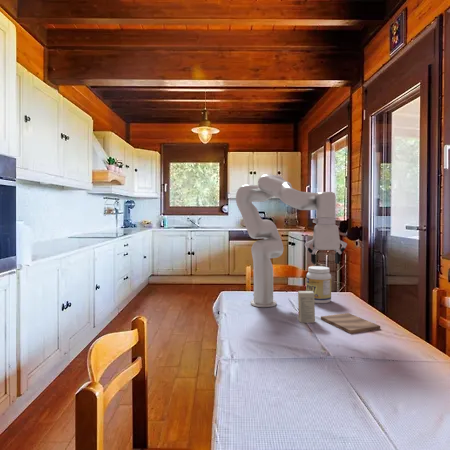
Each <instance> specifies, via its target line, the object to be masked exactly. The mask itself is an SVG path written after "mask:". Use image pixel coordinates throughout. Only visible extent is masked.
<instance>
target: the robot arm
mask: <svg viewBox="0 0 450 450" xmlns="http://www.w3.org/2000/svg"><path fill="white" fill-rule="evenodd" d="M274 197H275V198H278V199H280V201H281V202H282V203H284V204H285V205H287V206H290V207H291V208H294V209H296V210H300V211H316V212H315V213H316V216H315V218H314V219H313V220H312V223H315V224H316V225H314V227H313V233H312V239H311V240H308V241H306V242H305V243H304V246H305V248H306V250H307V252H308V253H310V262H311V263H312V264H313V265H316V263H317V255H316V253H317V251H334V252H335V254H334V263H335V264H336V265H340V263H341V254H342V253H343V252H344V251H345V250H346V248H347V246H348V243H347V242H345V241H343V240H341V239H340V232H339V231H340V230H339V226H338V225H336V211H337V210H336V207H337V206H336V203H337V202H336V201H337V200H336V198H337V197H336V193H335V192H333V191H320V192H311V191H310V192H309V191H300V190H298V189H295V188H294V187H293V186H292V183H291V182H289V181H286V180H285V179H284V178H283V177H282V176H281V175H275V174H262V175H261V176H260V177H259V178H258V180H257V185H255V184H244V185H241V186H240V187H239V188H238V189H237V191H236V194H235V203H236V206H237V208H238V210H239V212H240V214H241V218H242V220H243V224H244V226H245V228H246V231H247V233H248V236H249V237H250V238H251V239H255V240H256V239H257V240H256V241H254V242H253V243H252V246H251V248H250V250H251V251H250V252H251V256H252V261H253V262H252V264H253V267H252V268H253V294H252V295H253V299H251V301H250V305H251V306H254V307H257V308H258V307H259V308H271V307H275V306H277V301H276V300H274V267H273V263H272V260H271V259H277V258H280V257H281V256H282V255H283V252H284V250H285V249H284V244H283V243H284V242H283V240H282V238H281V235H280V233H279V231H278V227H277V225H276V224H275V222H273V221H272V220H270V219H263V218H262V217H261V214H260V213H259V212H260V211H259V210H258V208H257V207H256V206H255V205H254V204H253V202H254V203H264V202H266V201H268V200H270V199H272V198H274ZM310 245H312V249H311V247H310Z"/></svg>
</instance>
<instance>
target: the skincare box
mask: <svg viewBox="0 0 450 450" xmlns="http://www.w3.org/2000/svg"><path fill="white" fill-rule="evenodd" d="M297 296H298V298H297V302H298V303H297V304H298V321H299V323H303V324H304V323H305V324H306V323H309V324H310V323H316V313H315V312H316V311H315V310H316V307H315V305H316V303H315V302H314V292H313V291H306V290H298V291H297Z"/></svg>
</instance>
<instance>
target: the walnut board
mask: <svg viewBox="0 0 450 450" xmlns="http://www.w3.org/2000/svg"><path fill="white" fill-rule="evenodd" d="M320 320H321V321H323V322H325V323H328V324H330V325H332V326H333V327H336V328H338V329H339V330H342V331H344V332H346V333H348V334H350V335H352V334H357V333H362V332H363V333H364V332H369V331H370V330H371V331H375V329H378V330H381V325H379V324H377V323H374V322H372V321H369V320H366V319H364V318H362V317H359V316H357V315H354V314H352V313H349V312H346V313H337V314H331V315H329V314H328V315H324V316H323V315H321V316H320ZM371 331H370V332H371Z"/></svg>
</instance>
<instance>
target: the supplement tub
mask: <svg viewBox="0 0 450 450" xmlns="http://www.w3.org/2000/svg"><path fill="white" fill-rule="evenodd" d="M307 271H308V272H307V273H306V283H305V284H306V286H305V287H306V289H305V291H313V292H314V302H315V304H327V303H330V302H331V301H332V274H331V273H330V272H331V271H330V267H327V266H323V265H316V266H315V265H312V266H308V270H307Z"/></svg>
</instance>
